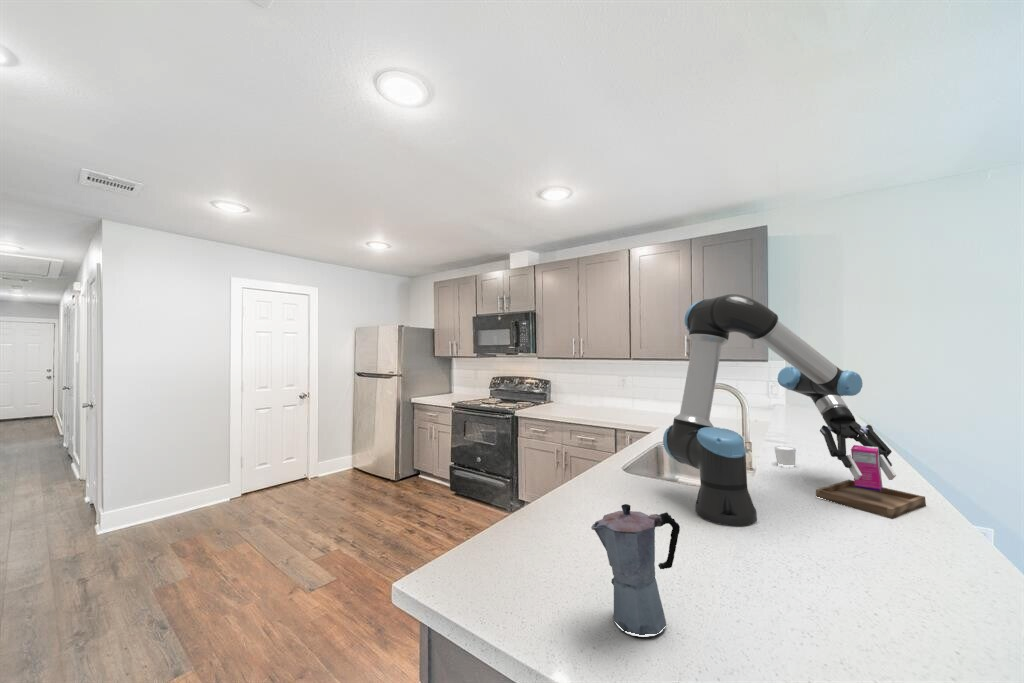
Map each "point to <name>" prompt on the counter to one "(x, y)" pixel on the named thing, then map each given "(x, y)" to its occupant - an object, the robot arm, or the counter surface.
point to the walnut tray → (872, 499)
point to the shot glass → (785, 455)
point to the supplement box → (867, 467)
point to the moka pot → (636, 566)
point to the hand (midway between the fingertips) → (875, 477)
